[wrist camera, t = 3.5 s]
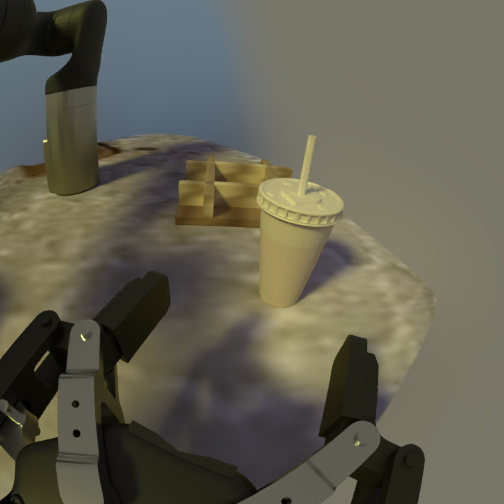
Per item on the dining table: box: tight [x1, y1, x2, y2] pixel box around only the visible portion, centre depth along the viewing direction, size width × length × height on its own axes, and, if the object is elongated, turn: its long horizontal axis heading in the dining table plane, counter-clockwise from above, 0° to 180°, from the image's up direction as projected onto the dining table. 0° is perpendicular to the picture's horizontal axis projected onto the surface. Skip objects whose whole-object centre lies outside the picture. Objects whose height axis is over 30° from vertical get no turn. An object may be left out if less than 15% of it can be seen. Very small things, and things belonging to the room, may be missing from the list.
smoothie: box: [257, 135, 344, 308], centre depth 21 cm, size 6×6×14 cm
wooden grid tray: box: [175, 156, 293, 228], centre depth 39 cm, size 17×17×4 cm
